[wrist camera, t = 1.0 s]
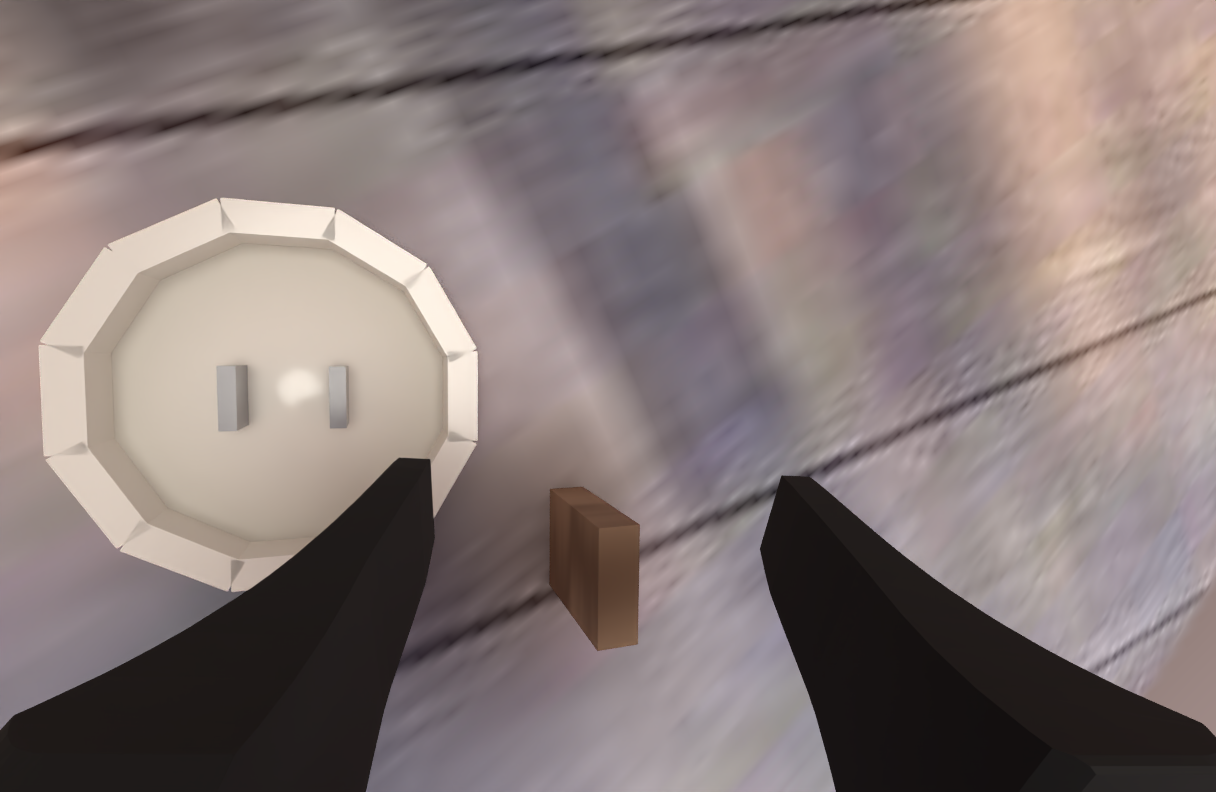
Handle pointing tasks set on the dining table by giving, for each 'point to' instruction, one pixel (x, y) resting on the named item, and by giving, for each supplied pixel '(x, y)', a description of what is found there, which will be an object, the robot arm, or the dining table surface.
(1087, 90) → the dining table surface
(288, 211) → the white shallow dish
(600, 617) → the brown wooden block
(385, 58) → the dining table surface
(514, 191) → the dining table surface
